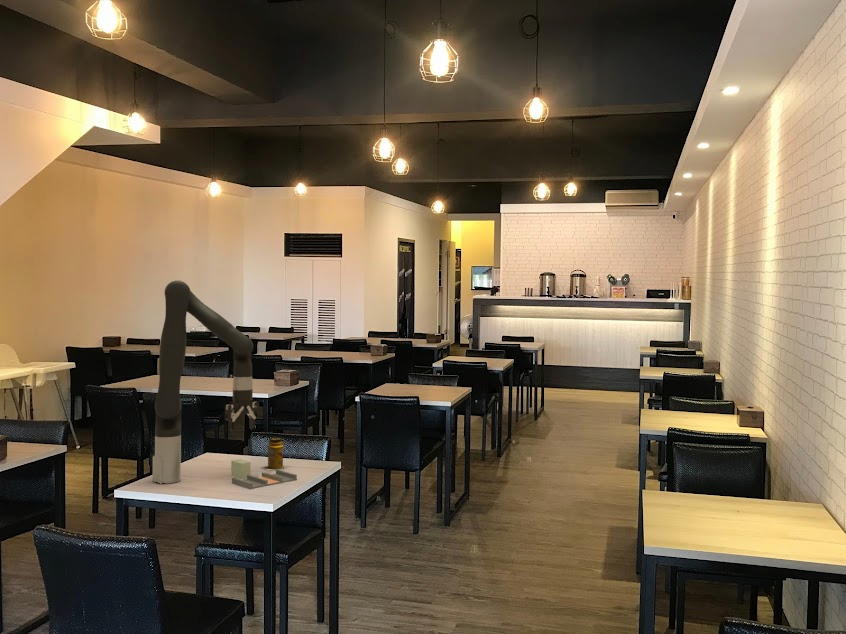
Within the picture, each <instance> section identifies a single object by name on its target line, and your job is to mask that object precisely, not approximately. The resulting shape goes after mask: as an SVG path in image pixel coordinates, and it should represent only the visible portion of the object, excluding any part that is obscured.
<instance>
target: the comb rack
mask: <svg viewBox="0 0 846 634" xmlns="http://www.w3.org/2000/svg"><path fill="white" fill-rule="evenodd" d="M292 481H297V474H295V473H292V472H288V471H284V470H282V469H277V470H275V473H273V474H272V473H268V472H265V471H262V472H261V476H255V475H251V474H250V475H247V478H244V479H240V478H236V477H231V484H232V485H237V486H239V487H243V488H245V489H249V490H252V489H258V488H262V487H267V486H273V485H278V484H283V483H287V482H288V483H289V482H292Z"/></svg>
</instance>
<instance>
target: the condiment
mask: <svg viewBox="0 0 846 634" xmlns="http://www.w3.org/2000/svg"><path fill="white" fill-rule="evenodd" d="M268 441H269V442H268V445H267V466H260V467H259V468H260V469H263V470H265V471H276V470H281V469H280V468H283V467H284V445H283V438H282V437H270V438H269V440H268Z"/></svg>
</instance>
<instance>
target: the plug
mask: <svg viewBox="0 0 846 634" xmlns="http://www.w3.org/2000/svg"><path fill="white" fill-rule="evenodd" d="M230 465H231V468H230V470H231V471H230V475H231V476H230V477H232V478H238V479H241V480H245V479H247V475H251V461H248V460H245V459H242V458H240V459H234V460H233V459H232V460H231V462H230Z"/></svg>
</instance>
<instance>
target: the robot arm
mask: <svg viewBox="0 0 846 634" xmlns="http://www.w3.org/2000/svg"><path fill="white" fill-rule="evenodd" d="M164 298H165V299H164V301H165V315H164V316H165V317H164V323H163V328H162V331H161V335H160V336H161V337H160V344H159V355H158V356H159V357H158V367H159V368H158V371H159V373H158V374H159V383H158V389H157V394H156V399H155V402H154V409H155V410H154V411H155V425H154V426H155V427H154V455H153V456H152V480H151V481H152V482H153V481H155V482H154V483H156V482H158V483H157V484H159V483H160V484H159V485H161V484H162V483H165V484H174V483H178V482H180V481H181V479H182V478H181V474H182V473H181V472H182V471H181V468H182V467H181V466H182V465H181V464H182V460H181V459H182V449H181V448H182V410H183V409H182V408H183V407H182V399H181V393H180V391H181V388H180V387H181V378H182V374H183V371H184V366H185V359H186V351H187V313H188V314H189V315H191V316H192V317H194V318H195V319H196V320H197V321H198V322H199V323H201V325H203V327H204V328H205V329H207V330H208V331H209V332H210V333H212V334H213V335H214V336H215V337H217V338H218V339H219V340H221V341H223V342H225V343H226V344H227V345H228V346H229V347H230V348H232V350H233V379H232V404H225V406H224V407H225V409H224V420H225V421H228V422H229V430H230V432H236V420H237V418H238V417H239V416H243V415H247V416H248V418H249V419H248V420H249V422H248V423H249V425H248V427H249V429H250V430H254V429H255V427H256V419H257V418H259V417H260V416H261V415H260V414H261V412H260V402H258V401H253V392H254V391H253V389H254V388H253V387H254V380H253V363H252V352H253V350H254V343H253V340H252V339H251V338H249V337H248V336H247V335H245V334H244V333H243V332H241V331H240V330H239V329H237V328H236V327H235V326H233V324H232V323H230V322H229V321H228V320H227V319H226V318H224V317H223V316H222V315H221V314H219V313H217V312H216V311H215V310H214V309H212V308H210V307H209V306H207V305H206V304H205V303H204V302H202V300H200V299H199V298H198V297H197V296H196V295H195V294H194V293H193V292H192V291H191V289H190V286H189V285H188V284H187V283H186V282H185V281H182V280H173V281H170V282H169V283H167V285H166V286H165V288H164ZM252 409H253V410H252Z"/></svg>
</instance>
